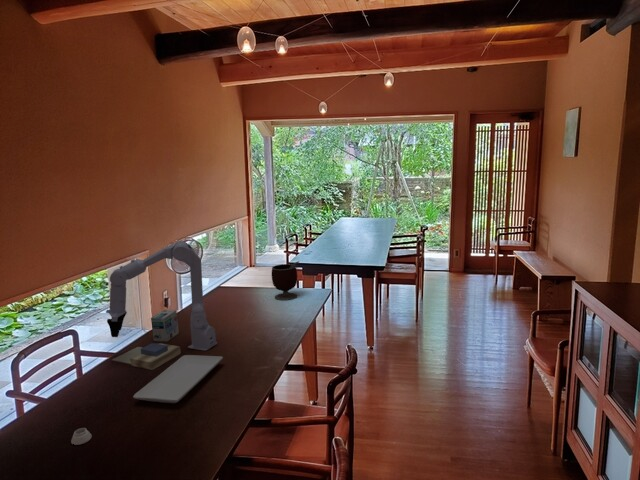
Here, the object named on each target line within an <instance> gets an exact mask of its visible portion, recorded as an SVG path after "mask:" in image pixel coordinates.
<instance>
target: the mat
mask: <svg viewBox="0 0 640 480" xmlns="http://www.w3.org/2000/svg"><path fill="white" fill-rule="evenodd" d="M142 348H143V347H142V346H136V347H135V348H132V349H131V350H129V351H127V352H124V353H123V354H120V355H119V356H116V357H114V358H112V359H111V361H113V362H118V363H124V364H128V365H131V362H130V358H132V357H134V356H136V355H137V354H139V353H141V349H142Z"/></svg>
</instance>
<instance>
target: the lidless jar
mask: <svg viewBox="0 0 640 480" xmlns="http://www.w3.org/2000/svg"><path fill="white" fill-rule="evenodd" d="M92 437H93V436H92V434H91V433H90V431H89V430H87V428H86V427H81V428H78V429H76V430H74V432H73V435H72V437H71V440H70V442H71V444H72V445H73V444H74V445H75V446H77V445H79V446H80V445H83V444H86V443H87V442H89V441H90V440H91V439H92Z"/></svg>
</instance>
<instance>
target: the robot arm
mask: <svg viewBox="0 0 640 480" xmlns="http://www.w3.org/2000/svg"><path fill="white" fill-rule="evenodd" d="M197 253H198V252H196V251H195V249H194V248H193V246H192V244H189V243H188V242H186V241H182V240H179V241H177V242H175V243H171V244H169V245H167V246H165V247H163V248H161V249H160V250H158V251H156V252H154V253H153V254H151V255H149V256H147V257H145V258H144V259H140V258H136V259H131V260H130V262H129V263H128V264H125V265H121V266H119V268H115V269H114V270H113V271H112V273H111V274H110V276H109V282H110V291H109V309H106V310H105V313H107V314H109V316H110V317H111V318H107V319H106V323H107V324H108V327H109V330H110V334H111V337H112V338H118V337H119V333H120V331H121V330H122V328H123V323H124V320H125V317H126V315H127V313H128V311H127V310H126V306H127V305H126V304H127V280H132V279H135V278H136V277H137V276H140V275H142V274H143V273H145V272H146V270H147V267H149V266H152V265H154V264H156V263H158V262H160V261H162V260H164V259H166V260H167V259H168V260H173V258H174V259H175V260H176V261H179V262H182V263H185V264H186V265H187V266H189V272H190V274H189V275H190V287H191V288H190V289H191V290H190V291H191V294H190V295H191V311H190V320H189V322H190V324H189V329H190V336H191V337H190V338H191V344H190V345H188V346H187V349H193V350H199V351H204V352H205V351H208V350H209V349H211V348H213V347H214V346H216V345H218V342H217V336H216V329H215V327H214V326H211V325H210V324H209V322H208V321H207V311H206V309H205V307H204V291H203V273H202V272H203V271H202V259H201V257H200V256H199V255H198V254H197Z"/></svg>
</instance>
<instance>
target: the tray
mask: <svg viewBox="0 0 640 480" xmlns="http://www.w3.org/2000/svg"><path fill="white" fill-rule="evenodd" d="M223 359H224V357H223V356H218V355H217V356H215V355H214V356H213V355H197V354H194V355H193V354H185V355H181V356H180V357H179V358H178V360H176V361H175V362H174V363H172V364H171V365H170V366H169V367H167V368H166V369H165V370H164V371H162V372H161V373H160V374H158V375H157V376H156V377H154V378H153V379H152V380H150V381H149V382H148V383H147V384H146V385H144V386H143V387H142V388H140V389H139V390H138V391H137V392H135V393H134V395H133V396H132V398H133V399H136V400H141V401H147V402H152V403H153V402H154V403H166V404H177V403H178V402H180V400H182V399H183V398H184V397H186V396H187V394H188V393H189V392H190V391H191V390H192V389H193V388H195V387H196V385H198V384H199V383H200V382H201V381H202V380H203V379H204V378H205V377H206V376H207V375H208V374H209V373H210V372H212V370H213V369H214V368H216V366H218V365H219V363H220V362H221V361H222V360H223Z"/></svg>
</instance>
